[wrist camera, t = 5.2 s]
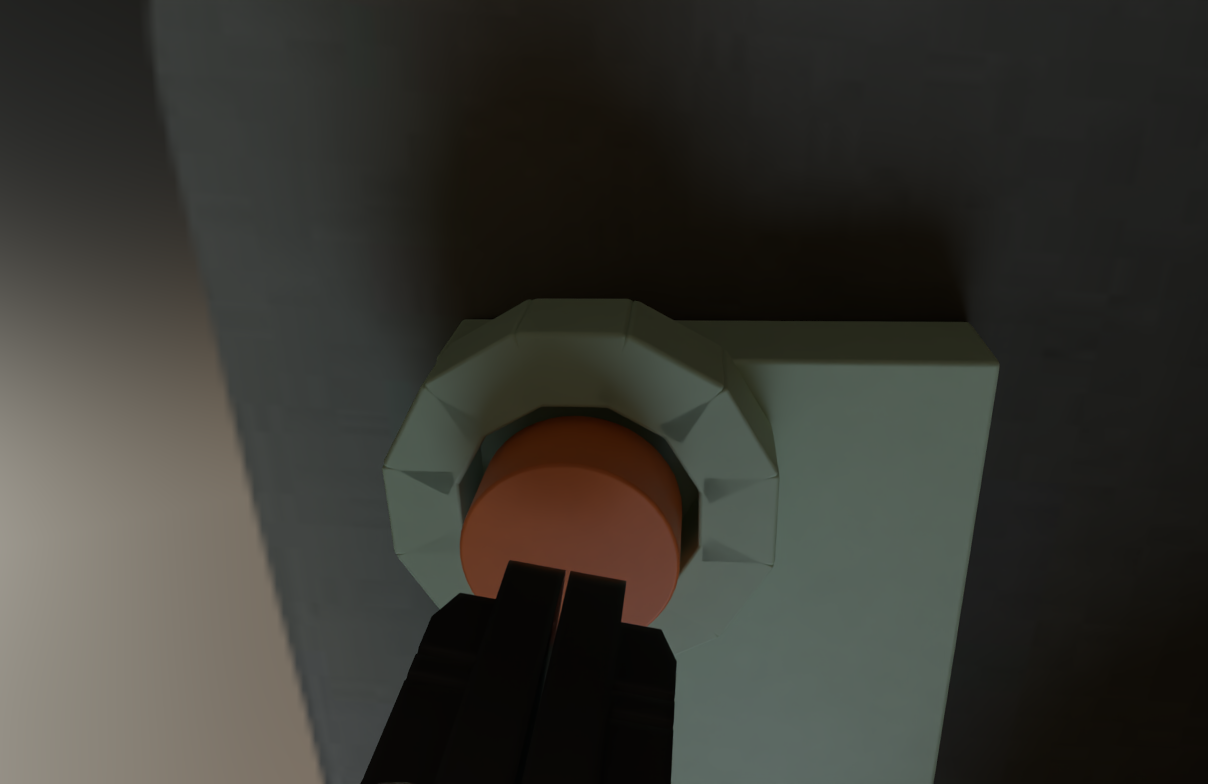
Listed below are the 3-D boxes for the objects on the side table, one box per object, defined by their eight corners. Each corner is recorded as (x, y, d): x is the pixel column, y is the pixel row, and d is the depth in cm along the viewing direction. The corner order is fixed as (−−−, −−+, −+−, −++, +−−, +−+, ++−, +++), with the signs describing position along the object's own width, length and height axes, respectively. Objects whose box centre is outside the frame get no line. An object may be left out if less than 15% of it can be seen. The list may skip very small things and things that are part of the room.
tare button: (473, 412, 14) (448, 461, 13) (682, 416, 14) (680, 466, 13) (489, 584, 16) (468, 646, 14) (682, 591, 15) (679, 654, 14)
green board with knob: (425, 261, 17) (360, 331, 13) (978, 261, 16) (1048, 336, 12) (482, 763, 22) (444, 900, 18) (904, 786, 21) (941, 935, 17)
